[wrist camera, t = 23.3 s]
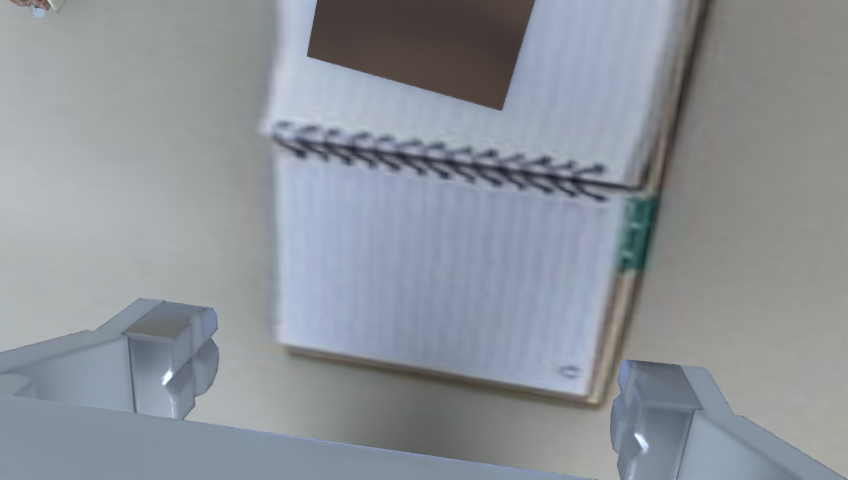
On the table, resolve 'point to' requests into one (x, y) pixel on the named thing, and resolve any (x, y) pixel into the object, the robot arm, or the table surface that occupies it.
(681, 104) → the table surface
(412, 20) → the brown wooden board
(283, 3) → the table surface
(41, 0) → the taco
